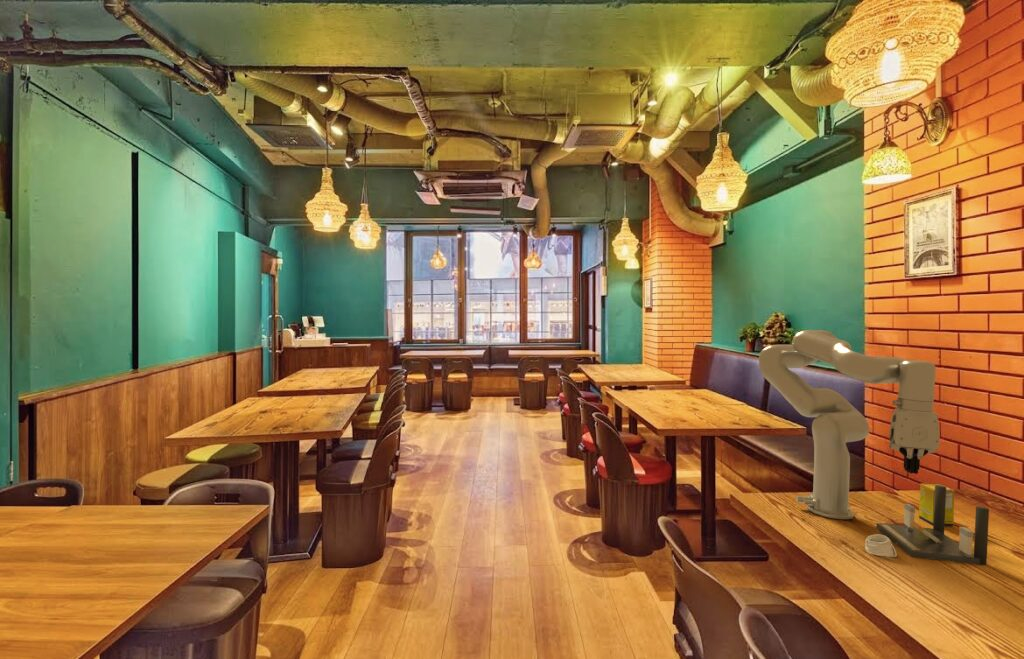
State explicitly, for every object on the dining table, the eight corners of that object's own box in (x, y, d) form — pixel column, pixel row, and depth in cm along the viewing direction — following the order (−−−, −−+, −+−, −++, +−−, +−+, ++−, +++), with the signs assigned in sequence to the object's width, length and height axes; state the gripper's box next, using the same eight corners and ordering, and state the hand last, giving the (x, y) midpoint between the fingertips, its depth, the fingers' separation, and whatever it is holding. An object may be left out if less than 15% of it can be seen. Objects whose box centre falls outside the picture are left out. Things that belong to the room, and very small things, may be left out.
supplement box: (938, 518, 153) (940, 483, 152) (953, 526, 147) (955, 490, 146) (918, 517, 153) (919, 482, 153) (932, 525, 147) (934, 489, 147)
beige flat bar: (909, 527, 140) (910, 507, 140) (903, 523, 143) (904, 503, 143) (914, 528, 140) (915, 507, 140) (907, 523, 143) (908, 503, 143)
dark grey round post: (977, 564, 124) (980, 509, 123) (931, 532, 142) (933, 484, 142) (989, 565, 123) (991, 510, 123) (940, 533, 142) (942, 485, 141)
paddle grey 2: (966, 554, 124) (967, 531, 124) (958, 548, 127) (959, 526, 127) (971, 554, 124) (972, 532, 124) (963, 549, 127) (964, 526, 127)
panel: (912, 556, 127) (912, 549, 127) (876, 528, 144) (876, 521, 144) (980, 564, 124) (980, 556, 124) (935, 533, 141) (935, 527, 141)
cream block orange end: (937, 543, 132) (917, 528, 133) (930, 538, 135) (910, 524, 136) (940, 540, 132) (920, 525, 133) (932, 535, 135) (913, 521, 136)
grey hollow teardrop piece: (901, 565, 124) (905, 547, 124) (870, 559, 126) (874, 541, 126) (888, 549, 132) (891, 532, 131) (859, 543, 134) (862, 526, 133)
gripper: (891, 406, 132) (887, 473, 133) (956, 410, 129) (951, 479, 129) (877, 401, 139) (873, 465, 140) (938, 405, 136) (933, 470, 137)
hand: (911, 471), depth 135 cm, fingers closed
